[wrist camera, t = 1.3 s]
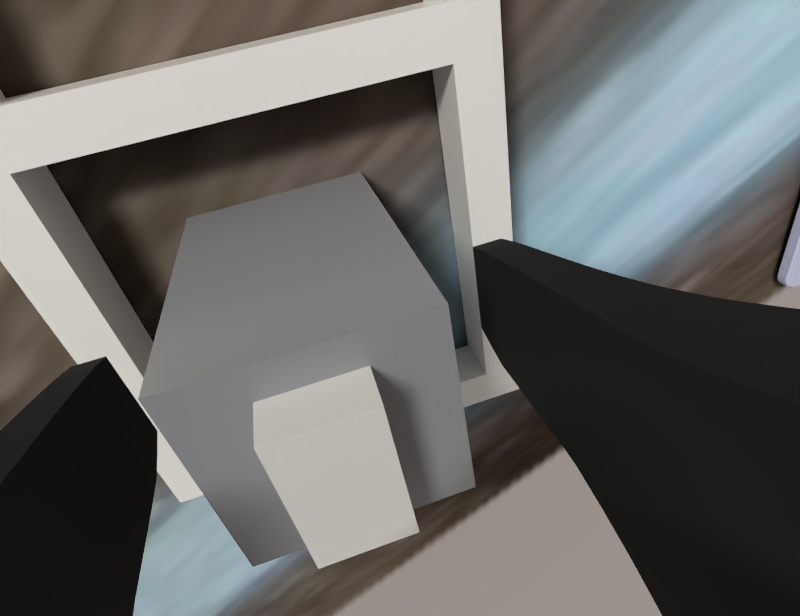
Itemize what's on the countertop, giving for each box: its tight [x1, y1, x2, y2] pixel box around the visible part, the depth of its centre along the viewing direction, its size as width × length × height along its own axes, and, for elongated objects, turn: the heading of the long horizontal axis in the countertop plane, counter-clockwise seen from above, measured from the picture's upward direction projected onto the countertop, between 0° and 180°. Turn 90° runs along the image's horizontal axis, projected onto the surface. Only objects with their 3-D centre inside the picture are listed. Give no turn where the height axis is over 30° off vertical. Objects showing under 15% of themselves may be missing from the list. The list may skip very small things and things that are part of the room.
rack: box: [0, 0, 519, 503], centre depth 9 cm, size 10×19×1 cm, turn 11°
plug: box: [138, 172, 476, 569], centre depth 9 cm, size 4×4×7 cm
